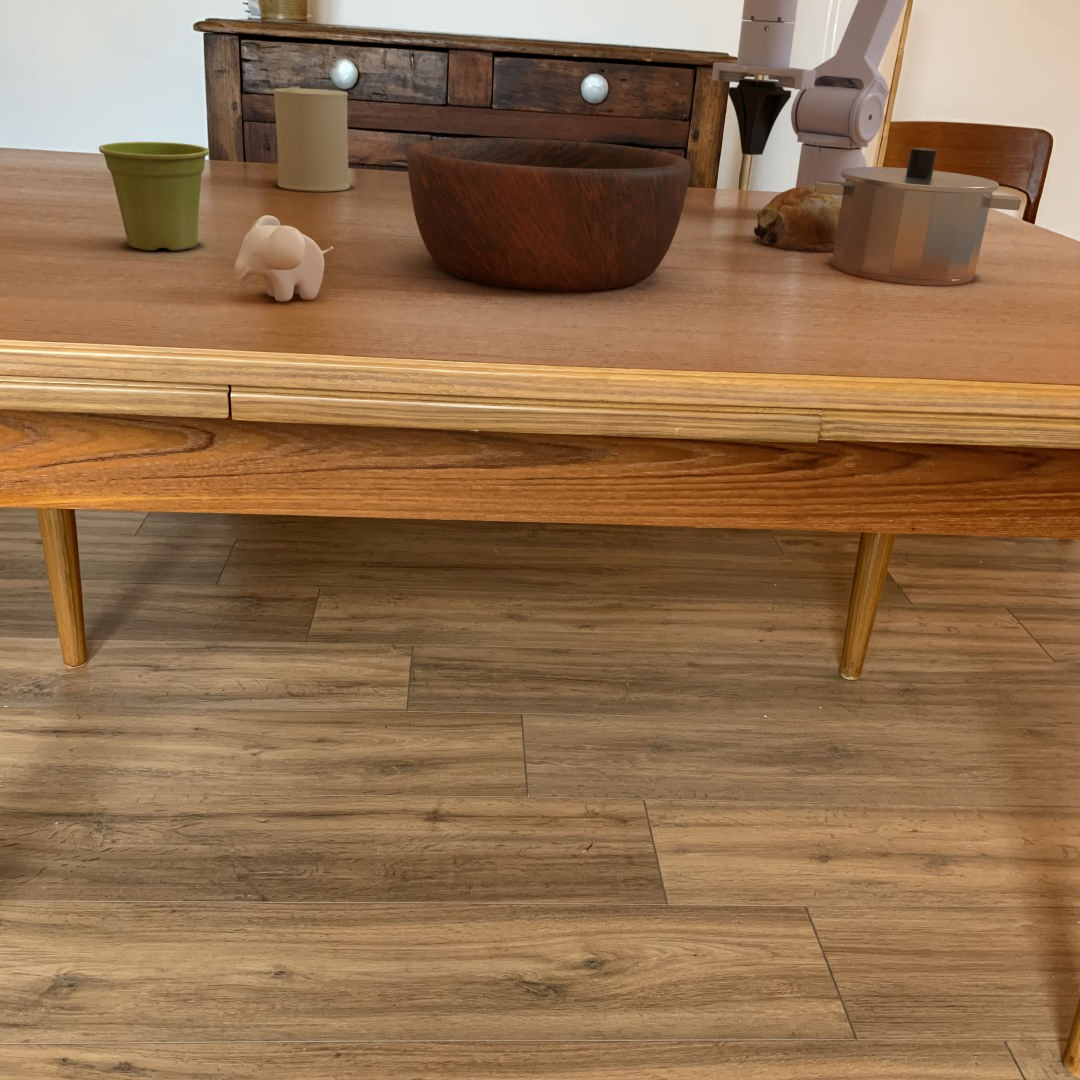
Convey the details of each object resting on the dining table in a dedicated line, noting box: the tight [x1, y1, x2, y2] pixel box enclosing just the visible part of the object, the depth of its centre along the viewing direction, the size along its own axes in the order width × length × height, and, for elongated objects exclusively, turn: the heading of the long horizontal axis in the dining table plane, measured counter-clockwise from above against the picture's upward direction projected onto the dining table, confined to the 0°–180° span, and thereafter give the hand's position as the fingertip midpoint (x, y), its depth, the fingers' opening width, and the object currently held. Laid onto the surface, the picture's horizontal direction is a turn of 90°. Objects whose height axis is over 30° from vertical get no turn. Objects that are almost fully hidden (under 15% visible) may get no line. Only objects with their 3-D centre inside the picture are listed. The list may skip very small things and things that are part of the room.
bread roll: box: [753, 186, 842, 253], centre depth 119 cm, size 10×10×8 cm
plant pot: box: [98, 141, 210, 252], centre depth 100 cm, size 9×9×9 cm
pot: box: [815, 179, 1022, 286], centre depth 107 cm, size 14×19×8 cm
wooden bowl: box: [406, 137, 692, 291], centre depth 98 cm, size 25×25×10 cm
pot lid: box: [841, 147, 1000, 193], centre depth 105 cm, size 15×15×4 cm
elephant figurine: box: [230, 214, 334, 303], centre depth 84 cm, size 7×8×6 cm
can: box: [273, 86, 351, 193], centre depth 139 cm, size 9×9×12 cm
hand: (752, 154), depth 124 cm, fingers closed
